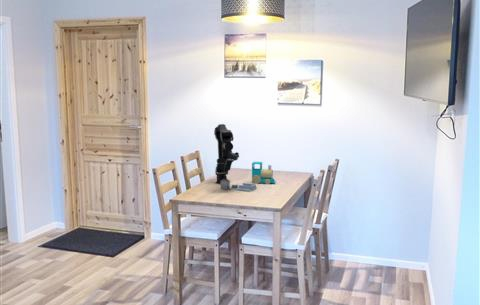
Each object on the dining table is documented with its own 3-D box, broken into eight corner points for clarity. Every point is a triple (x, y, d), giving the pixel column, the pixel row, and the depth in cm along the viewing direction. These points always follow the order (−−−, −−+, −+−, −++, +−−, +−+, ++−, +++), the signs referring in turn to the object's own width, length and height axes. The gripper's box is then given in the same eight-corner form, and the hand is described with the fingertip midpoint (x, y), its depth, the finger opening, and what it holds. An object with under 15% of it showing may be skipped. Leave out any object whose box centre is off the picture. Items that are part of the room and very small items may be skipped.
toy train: (274, 184, 334) (274, 164, 331) (251, 183, 337) (251, 163, 335) (275, 182, 341) (276, 162, 339) (253, 181, 345) (253, 161, 342)
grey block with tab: (220, 189, 319) (220, 179, 318) (223, 188, 322) (223, 178, 321) (227, 189, 317) (227, 180, 316) (229, 188, 320) (229, 179, 319)
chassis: (230, 189, 317) (230, 184, 317) (236, 186, 327) (236, 181, 327) (250, 191, 311) (250, 187, 311) (256, 188, 321) (256, 183, 321)
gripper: (231, 151, 304) (231, 174, 306) (242, 147, 321) (242, 170, 323) (216, 150, 308) (216, 173, 311) (227, 146, 325) (227, 168, 328)
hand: (226, 171), depth 318 cm, fingers open, 9 cm apart
